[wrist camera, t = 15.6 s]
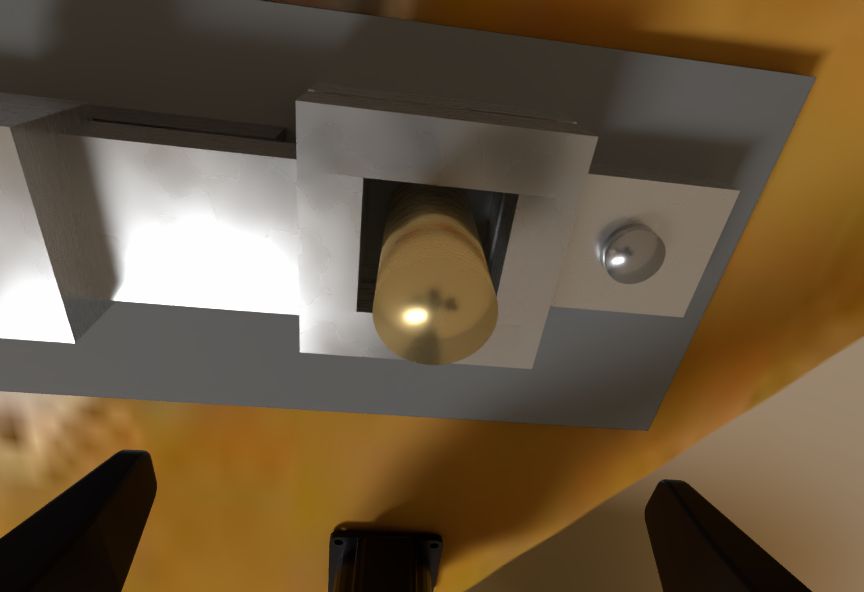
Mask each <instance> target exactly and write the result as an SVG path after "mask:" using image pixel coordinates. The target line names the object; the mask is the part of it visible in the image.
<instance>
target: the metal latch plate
mask: <svg viewBox="0 0 864 592" xmlns="http://www.w3.org/2000/svg"><path fill="white" fill-rule="evenodd" d="M597 140H598V136H596V135H595V134H594V133H592V132H591V131H589V130H588V129H587V128H585V127H584V126H582V125H581V124H574V123H565V122H557V121H549V120H541V119H533V118H524V117H516V116H508V115H500V114H492V113H483V112H475V111H467V110H459V109H451V108H442V107H434V106H426V105H418V104H410V103H401V102H393V101H385V100H377V99H369V98H360V97H352V96H344V95H336V94H328V93H319V92H311V91H306V92H305V93H304V94H303V95H302V96H300V97H299V98H298V99H297V100H296V144H295V143H286V142H277V141H268V140H259V139H250V138H242V137H233V136H224V135H215V134H206V133H197V132H188V131H179V130H170V129H161V128H152V127H143V126H134V125H125V124H116V123H107V122H98V121H93V117H92V112H91V107H90V103H89V102H81V101H72V100H63V99H55V98H46V97H37V96H29V95H20V94H11V93H2V92H0V338H8V339H22V340H36V341H50V342H65V343H76V342H77V341H78V340H79V339H80V338H81V337H82V336H83V335H84V334H85V333H86V332H87V331H88V330H89V329H90V328H91V326H92V325H93V324H94V323H95V322H96V321H97V320H98V319H99V318H100V317H101V316H102V315H103V314H104V313H105V312H106V311H107V310H108V309H109V308H110V307H111V306H112V305H113V304H114V303H115V302H116V301H128V302H141V303H153V304H166V305H179V306H191V307H204V308H217V309H229V310H242V311H255V312H267V313H280V314H292V315H299V325H300V352H301V353H315V354H328V355H342V356H356V357H370V358H384V359H398V360H406V359H404V358H402V357H400V356H398V355H397V354H395V353H394V352H393V351H391V350H390V349H389V348H388V347H387V346H386V345H385V344H384V343H383V341H382V340H381V339H380V337H379V335H378V333H377V331H376V329H375V326H374V322H373V302H374V296H375V289H376V288H366V287H361V271H362V253H363V235H364V217H365V199H366V181H367V178H372V179H381V180H391V181H400V182H409V183H419V184H428V185H438V186H447V187H456V188H466V189H475V190H485V191H494V192H503V193H506V196H505V201H504V205H503V210H502V215H501V220H500V225H499V230H498V235H497V240H496V245H495V249H494V254H493V259H492V264H491V269H490V277H491V280H492V283H493V287H494V290H495V294H496V297H497V302H498V319H497V323H496V326H495V329H494V331H493V333H492V335H491V336H490V338H489V339H488V341H487V342H486V343H485V344H484V345H483V346H482V347H481V348H480V349H479V350H478V351H476V352H475V353H473V354H472V355H470V356H468V357H467V358H464V359H462V360H460V361H457V362H453V364H467V365H481V366H495V367H509V368H523V369H532V368H533V364H534V361H535V357H536V354H537V350H538V347H539V343H540V340H541V336H542V333H543V329H544V326H545V322H546V319H547V315H548V312H549V308H550V305H551V301H552V298H553V294H554V291H555V287H556V284H557V280H558V277H559V273H560V270H561V266H562V263H563V259H564V256H565V252H566V249H567V245H568V242H569V238H570V235H571V231H572V228H573V224H574V221H575V217H576V214H577V210H578V207H579V203H580V200H581V196H582V193H583V189H584V186H585V182H586V179H587V175H588V172H589V168H590V165H591V161H592V158H593V154H594V151H595V147H596V144H597Z"/></svg>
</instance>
